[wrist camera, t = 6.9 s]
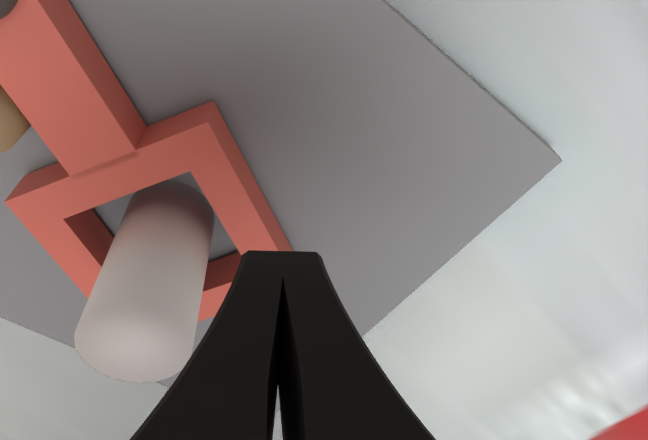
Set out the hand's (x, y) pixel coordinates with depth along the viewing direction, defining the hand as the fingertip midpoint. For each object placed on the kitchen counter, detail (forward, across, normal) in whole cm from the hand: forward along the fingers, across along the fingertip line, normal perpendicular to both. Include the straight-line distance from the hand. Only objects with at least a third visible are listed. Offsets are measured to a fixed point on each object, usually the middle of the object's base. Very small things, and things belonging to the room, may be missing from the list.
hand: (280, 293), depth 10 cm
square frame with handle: (+9, +5, +1) cm, 10 cm away
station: (+10, +4, +4) cm, 11 cm away
